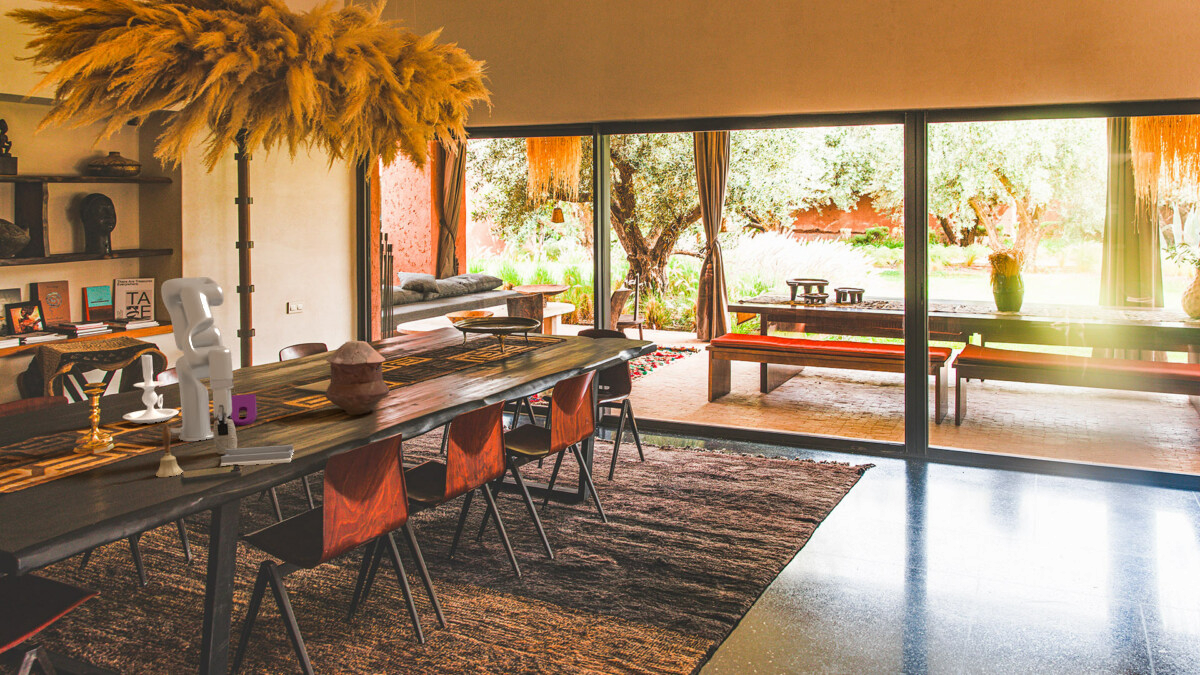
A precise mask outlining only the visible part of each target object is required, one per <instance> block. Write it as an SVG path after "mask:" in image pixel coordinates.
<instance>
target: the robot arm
mask: <svg viewBox="0 0 1200 675" xmlns="http://www.w3.org/2000/svg"><path fill="white" fill-rule="evenodd" d="M160 291H161V299H162V302H163V304H164V307H165V309H167V310H166V311H167V312H168V314H169V316H170V319H171V325H172V331H173V335H174V336H173V337H174V340H175V341H174V342H175V345H176V349H177V350H179V351H181V352H183V355H182V356H179V357H178V358H177V360H176V361H175V366H174V367H175V371H176V375H177V376H176V377H177V379H178V380H177V381H178V386H179V395H180V407H181V410H180V411H181V421H182V423H181V424H182V426H181V427H178V428H175V427H174V428H173V427H171V428H170V429H169V430H170V434H173V435H179V436H178V440H179V439H180V441H181V440H183V441H182V442H199V440H201V441H206V439H207V440H210V439H214V434H213V432H214V430H211V416H210V415H211V414H210V403H209V402H210V400H209V399H210V398H209V390H208V388H207V386H205V384H204V383H203V382H201V380H204V379H209V387H210V390H211V391H213V392H212V404H213V405H212V406H213V410H212V411H213V418H214V419H217V420H218V424H217V426H218V435H219V436H222V435H228V423H227V419H231V420H232V418H231V413H232V399H231V396H232V390H231V389H233V388H234V387H235V386H234V374H233V361H232V360H233V359H232V351H231V349H230V348H227V347H226V346H224V345H223V338H222V335H221V334H222V333H221V331H220V329H219V328H218V327H217V325H215V324H214V322H215V318H214V315H213V312H212V309H211V308H212V307H220V306H221V305H223V303H224V301H225V295H224V291H223V289H222V287H221V285H220V284H219V283H218V282H217V281H215V280H214V279H212V278H211V277H207V276H201V277H200V276H199V277H197V276H195V277H179V278H172V279H167V280H165V281H164V282H163V283H162V285H161V288H160Z"/></svg>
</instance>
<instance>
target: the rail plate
mask: <svg viewBox="0 0 1200 675" xmlns="http://www.w3.org/2000/svg"><path fill="white" fill-rule="evenodd" d="M225 452H226V454H224V455H222V456H221V457H220V458H221V459H220V461H221V462H220V467H221V466H226V465H233V464H238V465H244V466H255V465H256V464H259V465H269V464H270V465H271V463H273V464H285V463H291V461H292V459H291V458H293V456H294V453H293V452H295V450H294V445H293V444H286V445H272V446H259V447H258V446H256V447H255V446H254V447H253V446H252V447H242V448H241V447H240V448H236V449H226V450H225ZM292 455H293V456H292ZM256 466H257V465H256Z"/></svg>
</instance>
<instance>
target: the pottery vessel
mask: <svg viewBox="0 0 1200 675" xmlns="http://www.w3.org/2000/svg"><path fill="white" fill-rule="evenodd" d="M325 361H326V362H328V363H330V379H329V380H330V383H329V385H328V387H327V388H326V391H325V394H324V396H325V399H327V400H328V401H329V402H331V403H332V404H334V405H335V406H337V407H339V408H340V409H342V410H343V411H345V412H346V414H347V415H364V413H365V414H368V413H370V412H372V409H373V408H374V407H375V406H376V405H377V404H379V403H380V402H381V400H383V399H384V398H386V397H387V396H388V395H389V393H390V389H389V387H388V385H387V383H386V382H385V381H384V379H383V362H385V361H386V358H385V357H384V356H382V355H381V353H379V352H378V351H377V350H376V349H374V348H373V347H372V346H371V345H370V344H369V343H368V342H367V341H363V340H349V341H345V343H343V344H342V345H340V346H339V347H338V348H337V349H336V351H334V352H333V353H332V354H330V356H329V355H328V356H327V357H326V359H325Z"/></svg>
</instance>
